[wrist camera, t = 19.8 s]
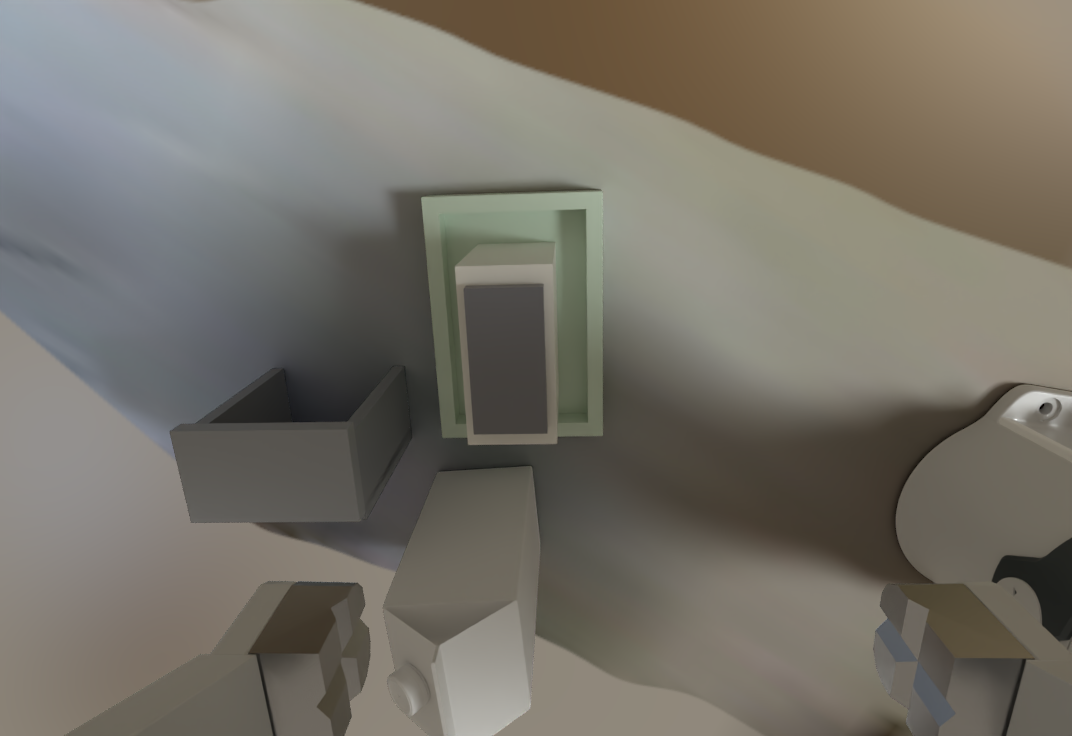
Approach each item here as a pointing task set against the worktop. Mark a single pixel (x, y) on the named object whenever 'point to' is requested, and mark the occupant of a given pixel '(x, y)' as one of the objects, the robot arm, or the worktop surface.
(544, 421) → the cream box grey panel
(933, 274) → the worktop surface
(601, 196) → the tray
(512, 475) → the milk carton
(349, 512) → the open-top grey box
